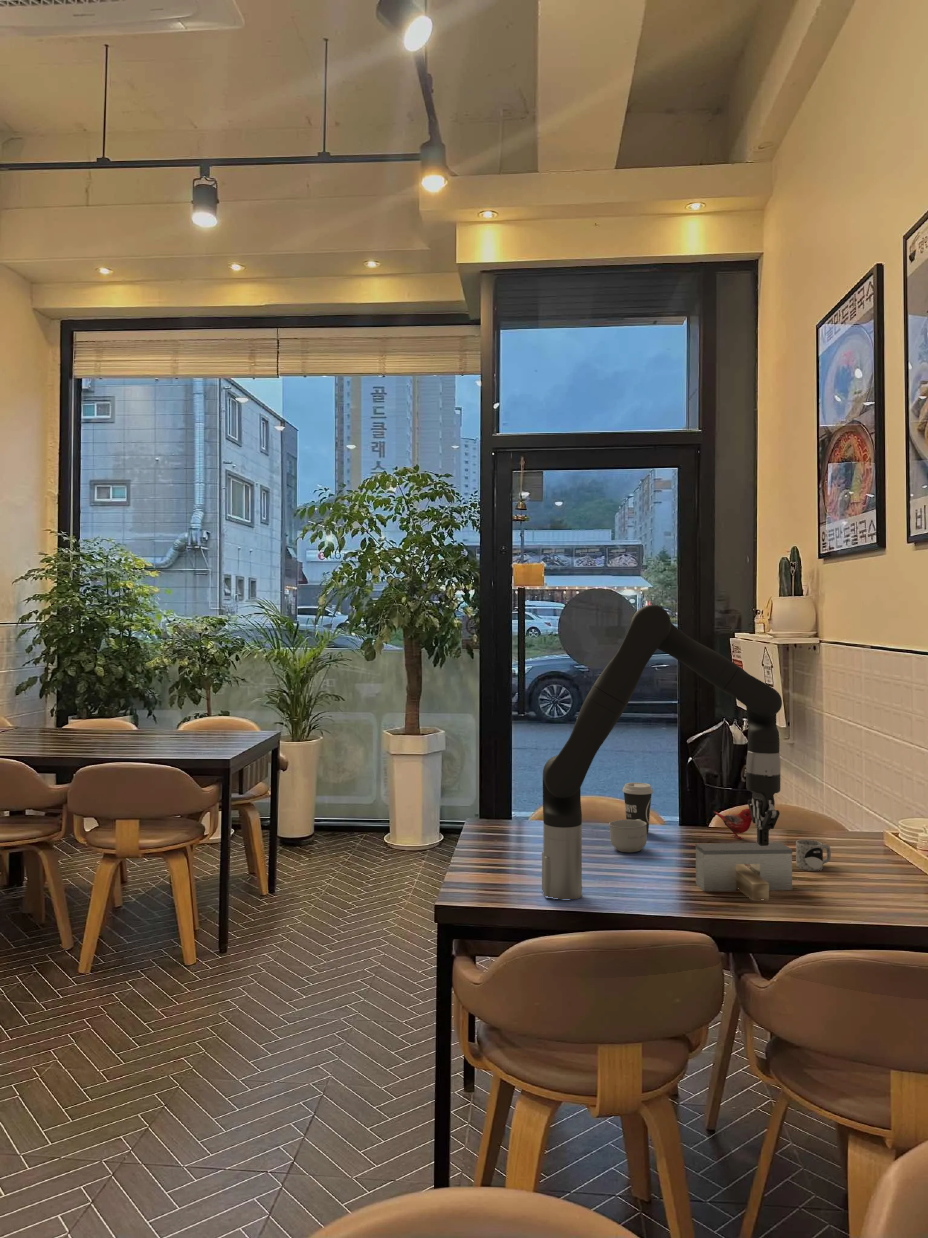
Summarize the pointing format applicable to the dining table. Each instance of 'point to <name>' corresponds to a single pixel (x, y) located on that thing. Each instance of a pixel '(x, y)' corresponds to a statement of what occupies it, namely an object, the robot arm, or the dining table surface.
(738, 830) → the decorative bird figurine
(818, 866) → the mug
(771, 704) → the robot arm
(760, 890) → the bar
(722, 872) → the block
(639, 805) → the coffee cup
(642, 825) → the teacup
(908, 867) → the dining table surface
